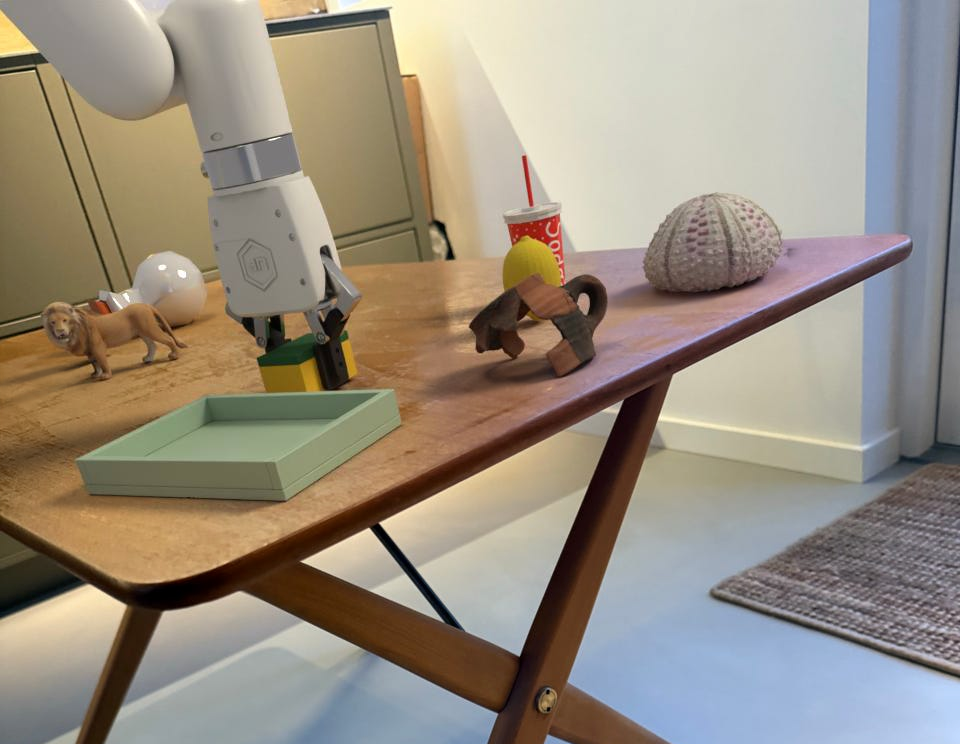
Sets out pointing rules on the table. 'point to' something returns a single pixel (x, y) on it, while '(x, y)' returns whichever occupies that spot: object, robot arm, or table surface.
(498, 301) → the brown piece
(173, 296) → the potion bottle
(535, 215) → the beverage cup
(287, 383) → the sponge
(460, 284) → the table surface
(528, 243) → the lemon
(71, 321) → the lion figurine
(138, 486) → the tray
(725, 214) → the sea urchin shell
